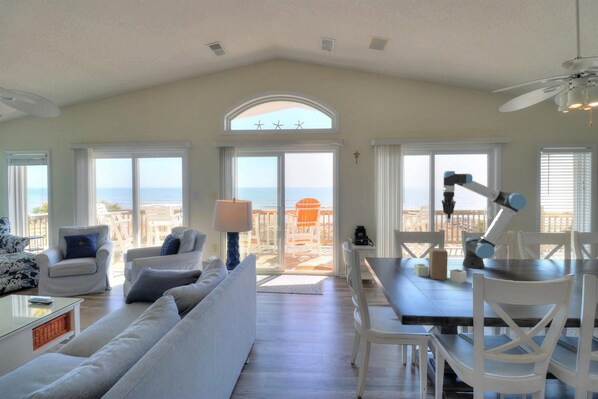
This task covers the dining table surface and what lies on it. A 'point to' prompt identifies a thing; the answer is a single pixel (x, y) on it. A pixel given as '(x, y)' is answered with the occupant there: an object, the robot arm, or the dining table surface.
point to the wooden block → (438, 263)
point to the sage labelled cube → (420, 269)
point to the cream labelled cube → (458, 275)
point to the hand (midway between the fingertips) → (447, 222)
